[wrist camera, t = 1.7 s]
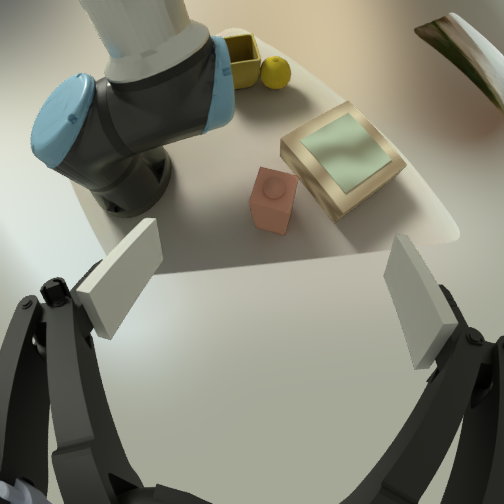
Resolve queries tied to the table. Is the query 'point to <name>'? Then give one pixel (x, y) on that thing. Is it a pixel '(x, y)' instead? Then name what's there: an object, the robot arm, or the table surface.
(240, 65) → the flower pot
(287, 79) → the lemon
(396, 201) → the table surface
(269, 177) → the pink knobbed block
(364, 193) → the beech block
